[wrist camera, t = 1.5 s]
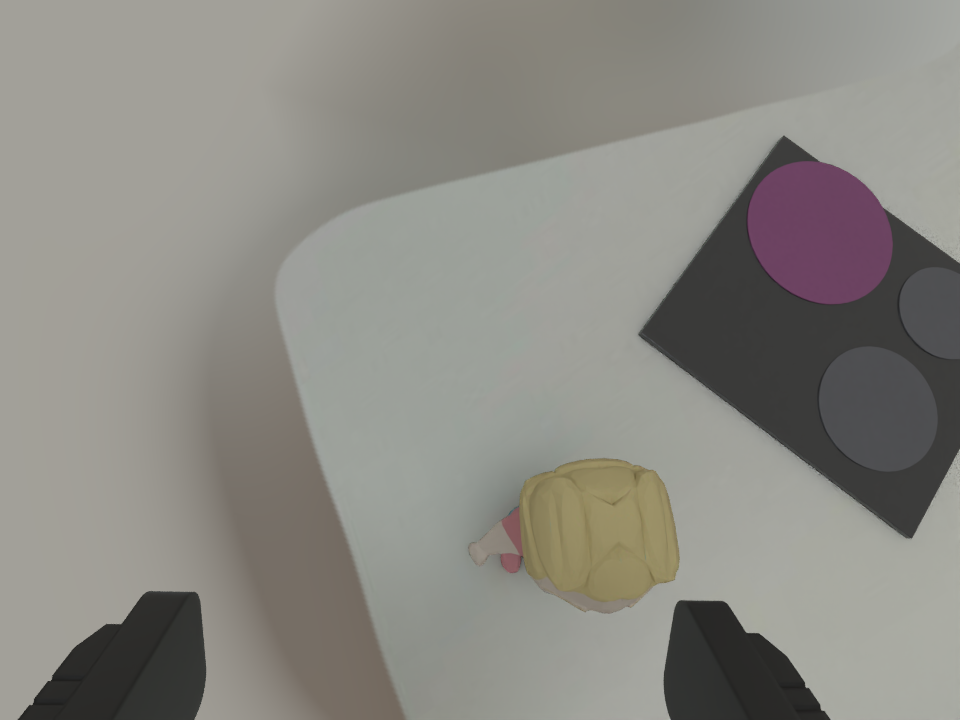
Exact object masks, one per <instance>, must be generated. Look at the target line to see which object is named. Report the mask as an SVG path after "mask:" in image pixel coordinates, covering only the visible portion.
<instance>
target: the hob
mask: <svg viewBox="0 0 960 720" xmlns="http://www.w3.org/2000/svg"><path fill="white" fill-rule="evenodd" d="M639 336H641V337H642V338H643V339H645V340H646V341H647V342H649V343H650V344H651V345H653V346H654V347H655V348H657V349H658V350H659V351H661V352H662V353H663V354H665V355H666V356H667V357H668V358H670V359H671V360H672V361H674V362H675V363H676V364H678V365H679V366H680V367H682V368H683V369H684V370H686V371H687V372H688V373H690V374H691V375H692V376H694V377H695V378H696V379H697V380H699V381H700V382H701V383H703V384H704V385H705V386H707V387H708V388H709V389H711V390H712V391H713V392H715V393H716V394H717V395H719V396H720V397H721V398H723V399H724V400H725V401H726V402H728V403H729V404H730V405H732V406H733V407H734V408H736V409H737V410H738V411H740V412H741V413H742V414H744V415H745V416H746V417H748V418H749V419H750V420H752V421H753V422H754V423H756V424H757V425H758V426H759V427H761V428H762V429H763V430H765V431H766V432H767V433H769V434H770V435H771V436H773V437H774V438H775V439H777V440H778V441H779V442H781V443H782V444H783V445H785V446H786V447H787V448H788V449H790V450H791V451H792V452H794V453H795V454H796V455H798V456H799V457H800V458H802V459H803V460H804V461H806V462H807V463H808V464H810V465H811V466H812V467H814V468H815V469H816V470H817V471H819V472H820V473H821V474H823V475H824V476H825V477H827V478H828V479H829V480H831V481H832V482H833V483H835V484H836V485H837V486H839V487H840V488H841V489H843V490H844V491H845V492H846V493H848V494H849V495H850V496H852V497H853V498H854V499H856V500H857V501H858V502H860V503H861V504H862V505H864V506H865V507H866V508H868V509H869V510H870V511H872V512H873V513H874V514H876V515H877V516H878V517H879V518H881V519H882V520H883V521H885V522H886V523H887V524H889V525H890V526H891V527H893V528H894V529H895V530H897V531H898V532H899V533H901V534H902V535H903V536H905V537H906V538H912V537H913V535H914V533H915V532H916V530H917V528H918V526H919V524H920V522H921V520H922V518H923V517H924V515H925V513H926V511H927V509H928V507H929V505H930V503H931V502H932V500H933V498H934V496H935V494H936V492H937V490H938V488H939V487H940V485H941V483H942V481H943V479H944V477H945V475H946V473H947V472H948V470H949V468H950V466H951V464H952V462H953V460H954V458H955V457H956V455H957V453H958V451H959V449H960V263H958V262H957V261H956V260H954V259H953V258H951V257H950V256H949V255H947V254H946V253H945V252H943V251H942V250H940V249H939V248H938V247H936V246H935V245H934V244H932V243H931V242H929V241H928V240H927V239H925V238H924V237H923V236H921V235H920V234H918V233H917V232H916V231H914V230H913V229H912V228H910V227H909V226H907V225H906V224H905V223H903V222H902V221H901V220H899V219H898V218H896V217H895V216H894V215H892V214H891V213H890V212H888V211H887V210H885V209H884V208H883V207H882V206H881V204H880V202H879V201H878V199H877V198H876V197H875V195H874V194H873V193H872V192H871V191H870V190H869V189H868V187H867V186H866V185H865V184H863V183H862V182H861V181H860V180H858V179H857V178H856V177H854V176H853V175H851V174H850V173H848V172H846V171H844V170H842V169H840V168H838V167H835V166H833V165H830V164H826V163H822V162H820V161H818V160H817V159H815V158H814V157H813V156H811V155H810V154H809V153H807V152H806V151H804V150H803V149H802V148H800V147H799V146H798V145H796V144H795V143H793V142H792V141H791V140H789V139H788V138H787V137H785V136H783V137H781V138H780V140H779V141H778V142H777V144H776V145H775V147H774V148H773V149H772V151H771V152H770V154H769V155H768V156H767V158H766V159H765V160H764V162H763V163H762V165H761V166H760V167H759V169H758V170H757V171H756V173H755V174H754V176H753V177H752V178H751V180H750V181H749V183H748V184H747V185H746V187H745V188H744V189H743V191H742V192H741V194H740V195H739V196H738V198H737V199H736V200H735V202H734V203H733V205H732V206H731V207H730V209H729V210H728V211H727V213H726V214H725V216H724V217H723V218H722V220H721V221H720V223H719V224H718V225H717V227H716V228H715V229H714V231H713V232H712V234H711V235H710V236H709V238H708V239H707V240H706V242H705V243H704V245H703V246H702V247H701V249H700V250H699V252H698V253H697V254H696V256H695V257H694V258H693V260H692V261H691V263H690V264H689V265H688V267H687V268H686V269H685V271H684V272H683V274H682V275H681V276H680V278H679V279H678V280H677V282H676V283H675V285H674V286H673V287H672V289H671V290H670V292H669V293H668V294H667V296H666V297H665V298H664V300H663V301H662V303H661V304H660V305H659V307H658V308H657V309H656V311H655V312H654V314H653V315H652V316H651V318H650V319H649V321H648V322H647V323H646V325H645V326H644V327H643V329H642V330H641V332H640V333H639Z"/></svg>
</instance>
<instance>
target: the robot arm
mask: <svg viewBox="0 0 960 720" xmlns="http://www.w3.org/2000/svg"><path fill="white" fill-rule="evenodd" d="M52 676H53V677H52V680H51V681H48V682H47V683H46V684H45V686H44V687H43V688H42V690H41V691H40V692H39V693H38V695H37V696H36V697H35V699H34V703H33V705H29V706H28V708H27V709H26V710H25V711H24V713H23V714H22V715H21V716H20V718H19V719H18V720H194V719H195V717H196V714H197V712H198V710H199V707H200V704H201V701H202V697H203V693H204V688H205V681H206V661H205V650H204V638H203V627H202V615H201V605H200V599H199V596H198V594H197V593H196V592H160V591H157V592H155V591H154V592H153V591H149V592H146V593H145V594H144V595H143V596H142V597H141V598H140V599H139V601H138V602H137V604H136V605H135V606H134V608H133V609H132V611H131V612H130V613H129V615H128V616H127V618H126V619H125V620H124V622H123V623H122V624H106V625H105V626H103V627H102V628H100V629H99V630H98V631H97V632H95V633H94V634H92V635H91V636H90V637H88V638H87V639H85V640H84V641H83V642H81V643H80V644H79V645H77V646H76V647H75V648H74V649H73V650H72V651H71V652H70V654H69V655H68V656H67V658H66V659H65V660H64V661H63V663H62V664H61V665H60V667H59V668H58V669H57V670H56V672H55V673H54V674H53V675H52ZM664 694H665V701H666V706H667V710H668V713H669V716H670V719H671V720H830V718H829V717H828V715H827V714H826V713H825V711H821V708H820V704H819V702H818V701H817V699H816V698H815V697H814V695H813V694H812V692H811V691H810V689H809V688H806V687H805V682H804V681H803V679H802V678H801V676H800V675H799V673H798V672H797V670H796V669H795V668H794V666H793V665H792V663H791V662H790V660H789V659H788V657H787V656H786V655H785V654H783V653H782V652H781V651H780V650H779V649H777V648H776V647H775V646H774V645H773V644H771V643H770V642H769V641H768V640H766V639H765V638H764V637H763V636H762V635H760V634H759V633H746V632H745V630H744V629H743V627H742V626H741V624H740V623H739V621H738V619H737V618H736V616H735V615H734V613H733V612H732V610H731V608H730V607H729V606H728V604H727V603H725V602H724V601H686V600H680V601H679V602H678V603H677V604H676V606H675V610H674V615H673V621H672V627H671V633H670V640H669V646H668V652H667V658H666V664H665V670H664Z"/></svg>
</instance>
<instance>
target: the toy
mask: <svg viewBox="0 0 960 720" xmlns="http://www.w3.org/2000/svg"><path fill="white" fill-rule="evenodd" d="M468 549H469V553H470V556H471V558H472V560H473V561H474V562H475V564H476V565H478V566H482V565H483V564H484V563H485V562H486V560H487V558H488V556H489V555H494V554H501V563H502V565H503V567H504V568H505V569H506V571H507V572H510V573H515V572H517V571H518V570H519V568H520V563H521V556H522V557H524V563H525V567H526V570H527V573H528V574H529V575H530V576H531V577H532V578H533V580H534V581H535V582H536V584H537V585H538V586H539V587H540V588H541V589H542V590H543V591H544V592H546V593H549V594H553V595H556V596H558V597H560V598H561V599H563V600H565V601H566V602H568V603H570V604H571V605H573V606H575V607H577V608H578V609H580V610H582V611H584V612H586V611H589V610H593V611H597V612H601V613H608V614H610V613H613V612H616V611H618V610H621V609H623V608H625V607H630V608H631V607H632V606H634V605H635V604H636V603H637V602H638V601H639V600H640V599H641V598H642V597H643V596H644V595H645V594H646V593H647V592H648V591H649V590H650V589H651V588H652V587H653V586H655V585H656V584H658V583H667V582H670V581H673V580H675V576H676V572H677V570H678V568H679V560H680V557H679V548H678V541H677V535H676V528H675V523H674V518H673V514H672V509H671V505H670V500H669V496H668V493H667V490H666V487H665V485H664V483H663V481H662V480H661V479H660V478H659V476H658V474H657V473H656V471H654V470H647V469H645V468H643V467H641V466H636V465H634V466H633V465H632V464H630V463H628V462H626V461H622V460H618V459H605V458H602V459H586V460H579V461H575V462H570V463H567V464H564V465H562V466H559V467H558V468H556V469H555V471H554V472H553V471H551V472H545V473H542V474H539V475H536V476H534V477H532V478H530V479H528V480H526V481H525V483H524V486H523V488H522V490H521V493H520V503H519V506H518V507H516V508H514V509H513V510H512V511H511V512H510V513H509V515H508V516H507V517H506V518H504V519H502V520H501V521H499V522H498V523H497V524H496V525H495V526H493V527H492V528H491V529H490V530H489V531H488V532H487V533H486V534H485V535H484V536H483V537H482V538H481V539H480V540H479V541H478V542H472V543H470V544H469V546H468Z"/></svg>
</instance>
